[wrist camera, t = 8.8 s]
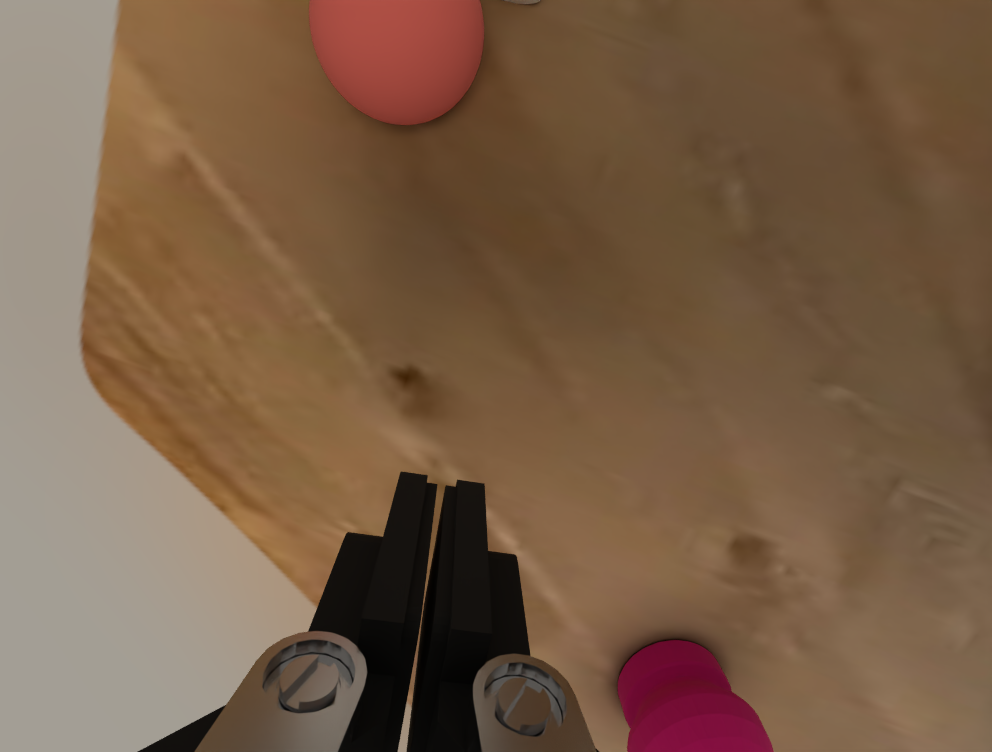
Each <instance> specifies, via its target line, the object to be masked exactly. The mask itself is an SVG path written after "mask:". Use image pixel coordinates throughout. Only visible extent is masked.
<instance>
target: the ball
mask: <svg viewBox="0 0 992 752" xmlns="http://www.w3.org/2000/svg"><path fill="white" fill-rule="evenodd" d="M309 21H310V30H311V35H312V40H313V44H314V48H315V51H316V54H317V57H318V59H319V61H320V64H321V66H322V68H323V70H324V72H325V73H326V75H327V77H328V78H329V80H330V82H331V83H332V84H333V86H334V87H335V88H336V89H337V91H338V92H339V93H340V94H341V95H342V96H343V97H344V98H345V99H346V100H347V101H348V102H349V103H350V104H351V105H353V106H354V107H355V108H357V109H358V110H359V111H361V112H363V113H364V114H366V115H368V116H370V117H372V118H374V119H377V120H380V121H382V122H385V123H390V124H396V125H414V124H420V123H425V122H428V121H431V120H433V119H435V118H437V117H439V116H441V115H443V114H444V113H446V112H447V111H449V110H450V109H451V108H453V107H454V106H455V105H456V104H457V103H458V102H459V101H460V100H461V99H462V97H463V96H464V94H465V93H466V92H467V90H468V89H469V87H470V86H471V84H472V82H473V80H474V78H475V76H476V73H477V70H478V68H479V65H480V61H481V57H482V51H483V43H484V21H483V14H482V7H481V3H480V0H310V4H309Z"/></svg>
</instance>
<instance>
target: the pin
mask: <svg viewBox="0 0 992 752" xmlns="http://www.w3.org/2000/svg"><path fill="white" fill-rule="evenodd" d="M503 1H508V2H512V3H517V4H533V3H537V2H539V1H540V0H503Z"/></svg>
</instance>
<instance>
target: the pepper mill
mask: <svg viewBox="0 0 992 752" xmlns="http://www.w3.org/2000/svg"><path fill="white" fill-rule="evenodd" d="M618 695H619V699H620V702H621V705H622V708H623V712H624V715H625V718H626V721H627V723H628V725H629V727H630V728H631V730H630V732H629V737H628V746H627V751H628V752H774V751H773V748H772V744H771V742H770V739H769V737H768V735H767V733H766V731H765V729H764V727H763V725H762V723H761V721H760V719H759V717H758V715H757V714H756V712H755V711H754V710H753V708H752V707H751V706H750V705H749V704H748V703H747V702H746V701H744V700H743V699H742V698H740V697H739V696H737V695H736V694H734V693H733V692H732V691H731V687H730V684H729V682H728V680H727V678H726V676H725V675H724V673H723V671H722V669H721V667H720V665H719V664H718V662H717V660H716V659H715V657H714V656H713V655H712V654H711V653H710V652H709V651H708V650H707V649H705V648H703V647H702V646H700V645H698V644H695V643H692V642H689V641H682V640H670V641H662V642H657V643H655V644H652V645H650V646H647V647H645V648H643V649H642V650H640V651H639V652H637V653H636V654H634V655H633V656H632V657H631V659H630V660H629V661H628V662H627V663H626V664H625V666H624V668H623V670H622V672H621V674H620V676H619V680H618Z"/></svg>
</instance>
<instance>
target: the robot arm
mask: <svg viewBox="0 0 992 752" xmlns="http://www.w3.org/2000/svg"><path fill="white" fill-rule="evenodd" d="M427 477H428V475H421V474H415V473H408V472H400V476H399V480H398V483H397V487H396V491H395V495H394V498H393V502H392V506H391V510H390V513H389V517H388V521H387V524H386V528H385V532H384V536H383V537H380V536H373V535H365V534H358V533H350V532H348V533H347V534H346V536H345V538H344V540H343V543H342V545H341V548H340V551H339V553H338V556H337V558H336V561H335V564H334V566H333V569H332V571H331V574H330V576H329V579H328V582H327V584H326V587H325V589H324V592H323V595H322V597H321V600H320V602H319V605H318V608H317V610H316V613H315V615H314V618H313V621H312V623H311V626H310V628H309V631H308V632H303V633H298V634H295V635H292V636H289V637H286V638H284V639H282V640H280V641H279V642H277V643H275V644H274V645H272V646H271V647H269V648H268V649H267V650H266V651H265V652H264V653H263V654H262V655H261V656H260V658H259V659H258V660H257V661H256V662H255V664H254V665H253V667H252V668H251V670H250V671H249V673H248V674H247V675H246V677H245V678H244V680H243V681H242V683H241V684H240V686H239V687H238V689H237V690H236V692H235V693H234V695H233V696H232V697H231V699H230V700H229V702H228V703H227V705H225V706H223V707H221V708H219V709H217V710H215V711H214V712H212V713H210V714H208V715H206V716H204V717H202V718H200V719H199V720H197V721H195V722H193V723H191V724H189V725H187V726H186V727H183V728H182V729H180V730H178V731H176V732H174V733H172V734H170V735H168V736H166V737H165V738H163V739H161V740H159V741H157V742H155V743H153V744H151V745H149V746H148V747H146V748H144V749H142V750H140V751H138V752H397V751H398V745H399V740H400V734H401V729H402V724H403V718H404V712H405V707H406V702H407V696H408V690H409V685H410V679H411V674H412V668H413V663H414V657H415V652H416V646H417V640H418V634H419V628H420V621H421V614H422V606H423V598H424V590H425V582H426V573H427V565H428V557H429V549H430V540H431V532H432V524H433V516H434V508H435V499H436V491H437V484H433V483H427ZM407 752H599V751H598V750H597V749H596V748H595V746H594V743H593V741H592V738H591V736H590V733H589V730H588V728H587V725H586V722H585V720H584V717H583V714H582V712H581V709H580V706H579V704H578V701H577V698H576V696H575V694H574V692H573V690H572V688H571V687H570V685H569V683H568V681H567V680H566V679H565V678H564V677H563V676H562V675H561V674H560V673H559V672H558V671H557V670H556V669H555V668H553V667H552V666H550V665H549V664H547V663H546V662H544V661H542V660H539V659H537V658H534V657H531V656H530V649H529V642H528V634H527V627H526V620H525V612H524V605H523V597H522V590H521V583H520V575H519V568H518V561H517V557H516V555H514V554H507V553H499V552H492V551H488V542H487V523H486V504H485V486H484V484H483V483H476V482H469V481H462V480H457V483H456V487H453V486H447V485H446V487H445V492H444V497H443V503H442V508H441V514H440V519H439V525H438V530H437V536H436V541H435V547H434V553H433V558H432V564H431V569H430V575H429V580H428V586H427V591H426V597H425V603H424V610H423V617H422V625H421V634H420V642H419V651H418V659H417V668H416V676H415V685H414V693H413V702H412V710H411V719H410V728H409V735H408V745H407Z"/></svg>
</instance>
